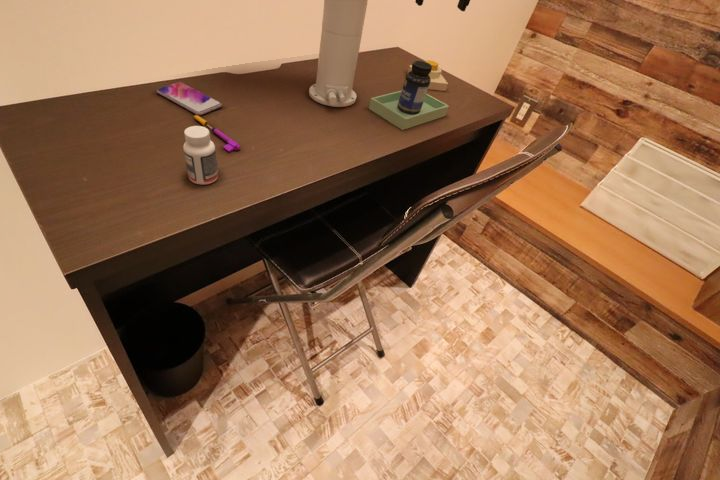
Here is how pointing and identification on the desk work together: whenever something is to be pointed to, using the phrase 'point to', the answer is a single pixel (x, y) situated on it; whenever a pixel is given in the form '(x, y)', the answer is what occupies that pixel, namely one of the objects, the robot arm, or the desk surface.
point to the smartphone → (189, 98)
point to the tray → (389, 111)
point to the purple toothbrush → (231, 143)
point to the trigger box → (435, 80)
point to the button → (433, 65)
